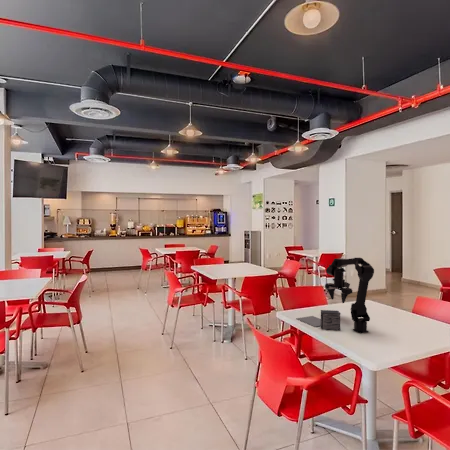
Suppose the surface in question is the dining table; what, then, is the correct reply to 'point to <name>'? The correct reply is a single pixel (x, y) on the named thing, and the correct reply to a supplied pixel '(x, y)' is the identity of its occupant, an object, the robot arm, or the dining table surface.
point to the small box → (330, 320)
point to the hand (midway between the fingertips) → (337, 301)
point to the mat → (311, 321)
